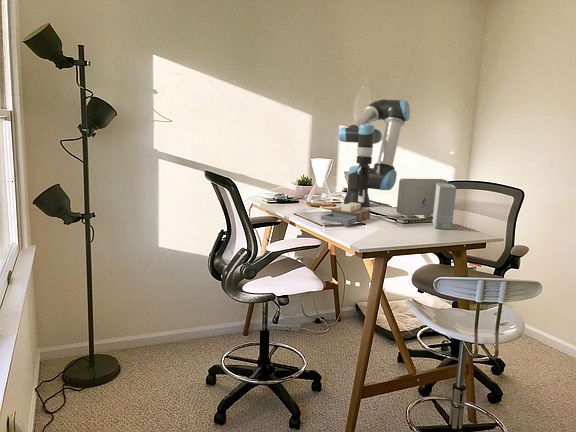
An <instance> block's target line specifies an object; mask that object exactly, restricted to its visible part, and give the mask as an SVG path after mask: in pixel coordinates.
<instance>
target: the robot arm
mask: <svg viewBox="0 0 576 432" xmlns="http://www.w3.org/2000/svg"><path fill="white" fill-rule="evenodd" d="M410 118H411V107H410V103H409V101H408V100H407V99H379V100H375V101H373V102H371V103H370V104H368V105H367V106H365V108H364V109H363V111H362V113H360V115H359V116H358V117H357V118H356V119H355V120H354V121H352V123H351V124H350V125H348V127H341V128H339V131H338V136H337V137H338V140H339V141H340V142H344V143H356V144H357V148H356V151H357V153H356V154H357V156H356V163H357V164H359V165H352V166H349V168H348V169H349V170H348V177H347V180H348V181H347V192H346V194H345V197H344V199H343V205H344V204H348V203H351V202H353V203H360V204H361V207H360V208H368V207H370V206H371V201H370V197H369V189H372V190H379V191H390V190H392V189H393V188H394V186H395V185H396V181H397V176H398V175H397V174H398V173H397V170H395V169H396V168H395V166H394V160H395V156H396V152H397V147H398V142H399V137H400V134H401V130H402V129H401V128H402V127H404V126H405V123H406V122H407V121H409V120H410ZM378 120H379V121H381V120H382V121H384V123H385V128H384V132H382V131H381V130H379V129H377V128H375V125H374V124H372V123H374V122H376V121H378ZM382 133H383V134H382ZM380 142H381V145H380V151H379V155H378V160H377V162H376V163H374V165H373V167H371V166H370V165H371V164H372V162H373V157H372V156H373V152H374V151H373V150H374V145H375V144H379V143H380Z"/></svg>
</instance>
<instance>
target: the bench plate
mask: <svg viewBox="0 0 576 432" xmlns="http://www.w3.org/2000/svg"><path fill="white" fill-rule="evenodd" d="M330 210H331V212H330V213H337V214H343V215H349V216H356V217H357V222H360V223H363V222H365V221H368V220H370V219H371V218H370V217H371V208H366V207H360V209H357V210H354V211H351V212H349V211H342V210H341V206H338V207H335V208H333V209H330Z"/></svg>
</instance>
